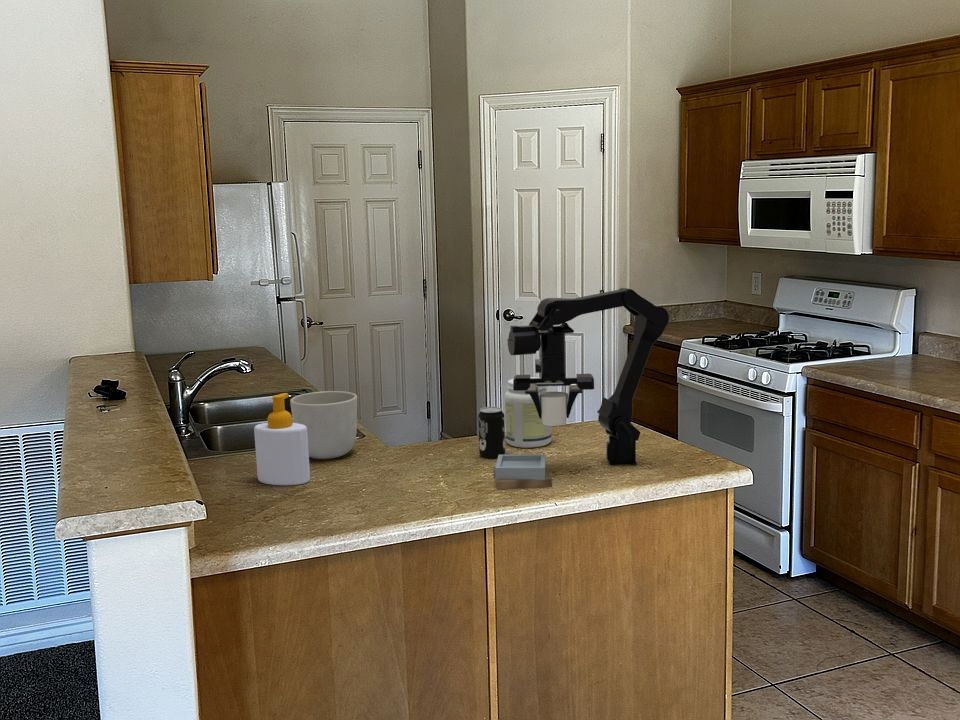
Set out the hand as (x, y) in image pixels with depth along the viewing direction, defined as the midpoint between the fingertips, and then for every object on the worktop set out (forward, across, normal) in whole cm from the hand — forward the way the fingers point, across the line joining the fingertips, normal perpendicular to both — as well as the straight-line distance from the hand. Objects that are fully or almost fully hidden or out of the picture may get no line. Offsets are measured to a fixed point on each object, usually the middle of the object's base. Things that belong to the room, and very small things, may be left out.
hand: (554, 417), depth 210 cm
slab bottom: (+13, +8, +9) cm, 17 cm away
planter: (+13, +59, -14) cm, 62 cm away
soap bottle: (+13, +64, +8) cm, 65 cm away
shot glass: (+1, 0, 0) cm, 1 cm away
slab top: (+11, +8, +9) cm, 16 cm away
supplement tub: (+13, +7, -24) cm, 28 cm away
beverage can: (+13, +16, -12) cm, 24 cm away
